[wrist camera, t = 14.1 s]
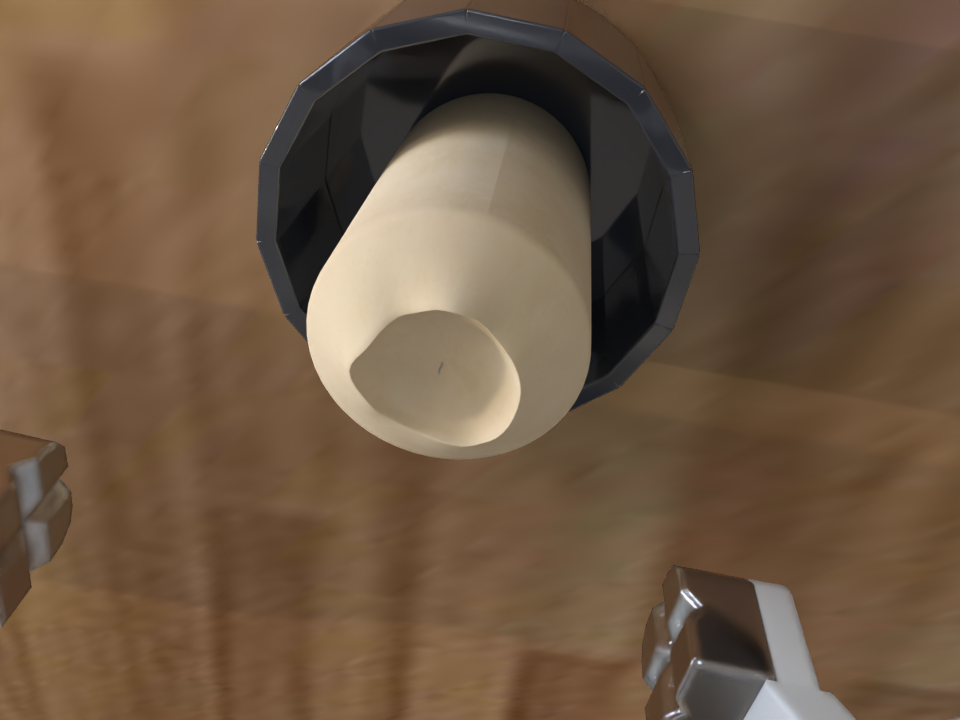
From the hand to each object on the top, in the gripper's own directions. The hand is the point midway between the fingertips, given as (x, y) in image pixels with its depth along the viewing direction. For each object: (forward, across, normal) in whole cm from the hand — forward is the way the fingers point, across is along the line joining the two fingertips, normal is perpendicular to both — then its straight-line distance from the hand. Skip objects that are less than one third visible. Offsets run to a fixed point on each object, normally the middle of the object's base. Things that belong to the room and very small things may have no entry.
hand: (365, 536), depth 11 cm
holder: (+15, 0, 0) cm, 15 cm away
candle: (+14, -1, 0) cm, 14 cm away
